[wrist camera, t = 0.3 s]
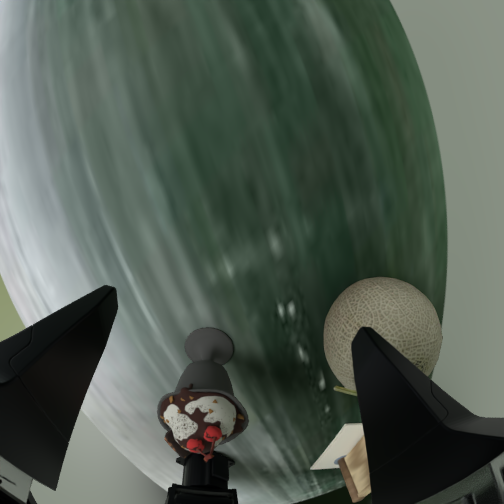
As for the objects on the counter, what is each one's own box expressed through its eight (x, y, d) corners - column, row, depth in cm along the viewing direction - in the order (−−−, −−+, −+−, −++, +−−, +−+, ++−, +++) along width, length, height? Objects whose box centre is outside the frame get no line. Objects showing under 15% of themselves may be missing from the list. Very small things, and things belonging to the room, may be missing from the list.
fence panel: (349, 458, 33) (366, 495, 25) (342, 458, 33) (358, 497, 25) (376, 425, 32) (399, 465, 23) (369, 426, 31) (391, 467, 23)
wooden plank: (335, 462, 34) (350, 503, 25) (340, 457, 34) (356, 498, 25) (371, 458, 35) (388, 494, 26) (376, 453, 35) (395, 488, 26)
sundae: (234, 313, 26) (242, 440, 11) (246, 367, 28) (262, 489, 13) (168, 324, 26) (125, 443, 11) (187, 376, 27) (169, 493, 13)
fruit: (299, 271, 25) (373, 368, 11) (401, 257, 26) (507, 314, 12) (300, 361, 28) (344, 473, 13) (391, 341, 29) (464, 421, 14)
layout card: (310, 468, 34) (310, 469, 34) (345, 423, 32) (345, 425, 31) (366, 462, 36) (366, 464, 35) (403, 419, 33) (404, 420, 33)
